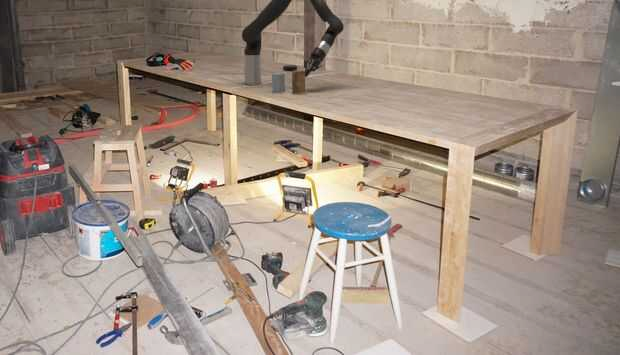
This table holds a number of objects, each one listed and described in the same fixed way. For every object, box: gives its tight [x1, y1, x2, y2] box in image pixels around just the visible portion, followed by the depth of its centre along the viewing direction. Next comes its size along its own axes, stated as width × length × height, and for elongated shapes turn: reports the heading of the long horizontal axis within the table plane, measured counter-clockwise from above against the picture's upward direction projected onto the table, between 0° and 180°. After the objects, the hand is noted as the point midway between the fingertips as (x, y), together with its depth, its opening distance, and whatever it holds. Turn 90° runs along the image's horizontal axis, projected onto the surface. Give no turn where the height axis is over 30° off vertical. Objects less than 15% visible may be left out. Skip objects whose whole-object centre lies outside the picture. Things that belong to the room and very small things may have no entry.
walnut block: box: [291, 69, 306, 95], centre depth 300 cm, size 5×5×12 cm
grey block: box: [271, 72, 286, 94], centre depth 305 cm, size 5×5×10 cm
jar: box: [282, 64, 298, 89], centre depth 319 cm, size 9×8×12 cm
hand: (304, 75), depth 302 cm, fingers closed
